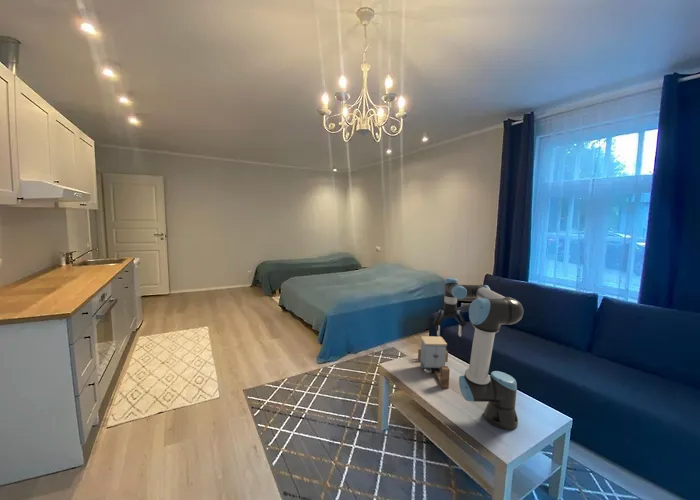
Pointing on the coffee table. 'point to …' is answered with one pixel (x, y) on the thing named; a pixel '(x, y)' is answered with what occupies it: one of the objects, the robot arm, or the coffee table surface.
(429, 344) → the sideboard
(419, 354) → the stand
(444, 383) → the wooden block
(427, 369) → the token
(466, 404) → the coffee table surface
